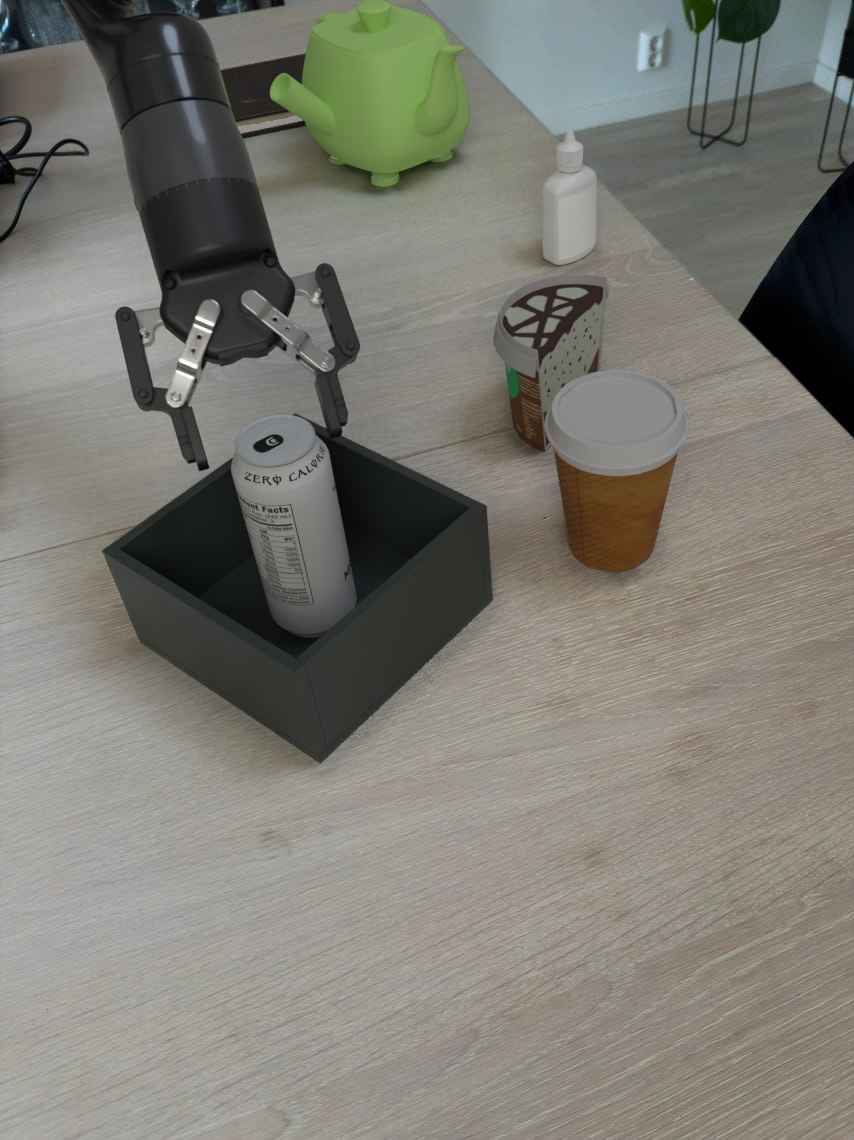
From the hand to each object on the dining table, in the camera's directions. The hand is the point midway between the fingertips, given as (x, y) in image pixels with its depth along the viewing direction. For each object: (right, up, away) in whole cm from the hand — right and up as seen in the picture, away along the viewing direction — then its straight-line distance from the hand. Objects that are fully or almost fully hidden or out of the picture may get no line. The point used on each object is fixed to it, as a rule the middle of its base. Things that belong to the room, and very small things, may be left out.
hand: (271, 452), depth 71 cm
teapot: (+2, +40, +54) cm, 67 cm away
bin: (+2, -11, +8) cm, 13 cm away
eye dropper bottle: (+22, +26, +40) cm, 52 cm away
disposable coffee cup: (+23, -5, +12) cm, 26 cm away
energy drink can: (+2, -10, +8) cm, 13 cm away
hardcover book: (-15, +53, +67) cm, 87 cm away
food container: (+18, +7, +23) cm, 30 cm away
